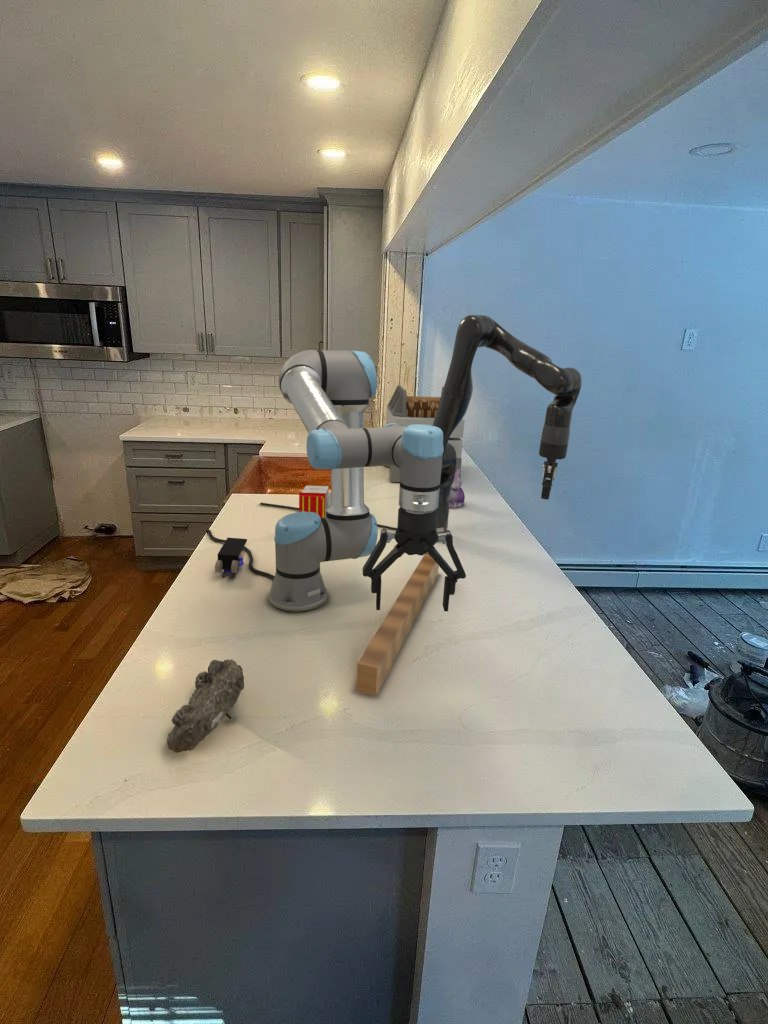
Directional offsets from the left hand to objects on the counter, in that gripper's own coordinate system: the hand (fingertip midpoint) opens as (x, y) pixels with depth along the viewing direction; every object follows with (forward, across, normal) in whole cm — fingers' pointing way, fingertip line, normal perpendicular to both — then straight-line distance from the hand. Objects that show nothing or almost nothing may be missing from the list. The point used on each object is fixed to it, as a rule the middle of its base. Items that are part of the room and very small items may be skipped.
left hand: (411, 607), depth 114 cm
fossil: (+18, -38, -11) cm, 44 cm away
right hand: (-7, +44, +55) cm, 71 cm away
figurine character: (+18, -48, +53) cm, 73 cm away
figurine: (+18, +28, +118) cm, 122 cm away
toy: (+18, -27, +98) cm, 104 cm away
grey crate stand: (+18, +18, +164) cm, 166 cm away
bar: (+18, +1, +25) cm, 31 cm away
